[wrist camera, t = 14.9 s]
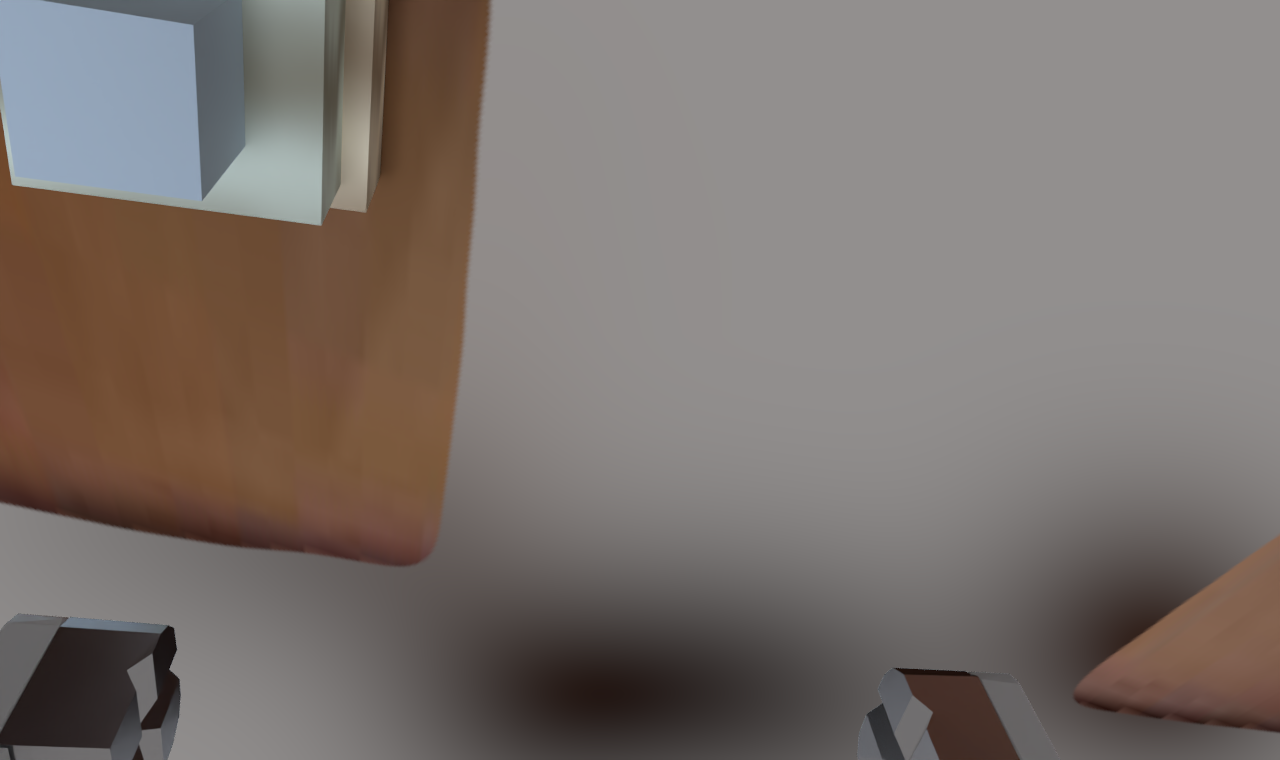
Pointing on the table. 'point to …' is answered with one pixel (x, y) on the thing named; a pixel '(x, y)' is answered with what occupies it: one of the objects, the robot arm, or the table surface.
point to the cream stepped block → (295, 114)
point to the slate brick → (124, 92)
